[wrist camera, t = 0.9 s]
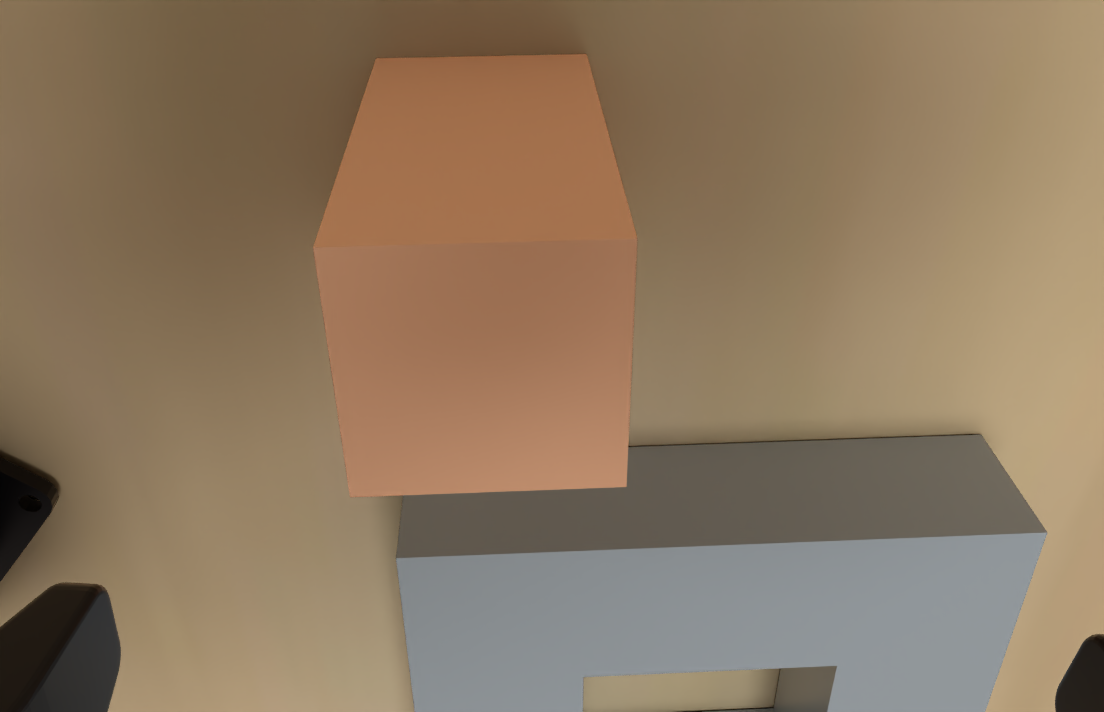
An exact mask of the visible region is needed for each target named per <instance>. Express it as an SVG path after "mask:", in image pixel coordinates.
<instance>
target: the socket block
mask: <svg viewBox="0 0 1104 712" xmlns="http://www.w3.org/2000/svg"><path fill="white" fill-rule="evenodd" d="M1046 535H1047V531H1046V530H1045V528H1044V527H1043V525H1042V524H1041V522H1040V521H1039V520H1038V518H1037V517H1036V515H1035V514H1034V512H1033V511H1032V509H1031V508H1030V506H1029V505H1028V503H1027V502H1026V500H1025V499H1024V497H1023V496H1022V494H1021V493H1020V491H1019V490H1018V488H1017V487H1016V485H1015V484H1014V482H1013V481H1012V479H1011V478H1010V476H1009V475H1008V474H1007V472H1006V471H1005V469H1004V468H1003V466H1002V465H1001V463H1000V462H999V460H998V459H997V457H996V456H995V454H994V453H993V451H992V450H991V448H990V447H989V445H988V444H987V442H986V441H985V439H984V438H983V436H982V435H955V436H927V437H898V438H870V439H842V440H814V441H786V442H758V443H730V444H701V445H673V446H645V447H628V464H627V487H614V488H587V489H560V490H533V491H506V492H480V493H453V494H426V495H403V501H402V510H401V519H400V528H399V536H398V545H397V554H396V562H397V570H398V579H399V587H400V595H401V603H402V611H403V620H404V628H405V636H406V644H407V652H408V661H409V669H410V677H411V685H412V693H413V702H414V710H415V712H583V677H595V676H618V675H641V674H663V673H686V672H708V671H731V670H753V669H776V668H781V669H780V674H779V680H778V686H777V692H776V698H775V703H774V708H769V709H747V710H726V711H704V712H985V711H986V708H987V705H988V702H989V699H990V696H991V693H992V690H993V687H994V685H995V682H996V679H997V676H998V673H999V670H1000V667H1001V664H1002V662H1003V659H1004V656H1005V653H1006V650H1007V647H1008V644H1009V641H1010V639H1011V636H1012V633H1013V630H1014V627H1015V624H1016V621H1017V618H1018V615H1019V613H1020V610H1021V607H1022V604H1023V601H1024V598H1025V595H1026V592H1027V590H1028V587H1029V584H1030V581H1031V578H1032V575H1033V572H1034V569H1035V566H1036V564H1037V561H1038V558H1039V555H1040V552H1041V549H1042V546H1043V543H1044V541H1045V538H1046Z"/></svg>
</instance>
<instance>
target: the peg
mask: <svg viewBox="0 0 1104 712" xmlns="http://www.w3.org/2000/svg"><path fill="white" fill-rule="evenodd" d="M313 251H314V258H315V264H316V271H317V278H318V285H319V291H320V298H321V305H322V312H323V318H324V325H325V332H326V339H327V345H328V352H329V359H330V365H331V372H332V379H333V386H334V392H335V399H336V406H337V413H338V419H339V426H340V433H341V439H342V446H343V453H344V460H345V466H346V473H347V480H348V487H349V493H350V497H372V496H399V495H426V494H453V493H480V492H506V491H533V490H560V489H587V488H614V487H627V464H628V442H629V419H630V396H631V374H632V351H633V328H634V306H635V283H636V260H637V235H636V232H635V228H634V224H633V221H632V217H631V213H630V210H629V206H628V202H627V199H626V195H625V192H624V188H623V184H622V181H621V177H620V173H619V170H618V166H617V163H616V159H615V155H614V152H613V148H612V144H611V141H610V137H609V133H608V130H607V126H606V123H605V119H604V115H603V112H602V108H601V104H600V101H599V97H598V94H597V90H596V86H595V83H594V79H593V75H592V72H591V68H590V65H589V61H588V57H587V54H561V55H512V56H463V57H414V58H376V60H375V63H374V66H373V69H372V72H371V75H370V78H369V81H368V84H367V87H366V90H365V93H364V96H363V99H362V102H361V105H360V108H359V111H358V114H357V117H356V120H355V123H354V126H353V129H352V132H351V135H350V138H349V141H348V144H347V147H346V150H345V153H344V156H343V159H342V162H341V165H340V168H339V171H338V174H337V177H336V180H335V183H334V186H333V189H332V192H331V195H330V198H329V201H328V204H327V207H326V210H325V213H324V216H323V219H322V222H321V225H320V228H319V231H318V234H317V237H316V240H315V243H314V246H313Z"/></svg>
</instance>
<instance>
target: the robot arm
mask: <svg viewBox="0 0 1104 712" xmlns="http://www.w3.org/2000/svg"><path fill="white" fill-rule="evenodd" d="M27 495H30V496H34V497H36V498H37V499H38V500H40V501H37V500H33V499H31V498H30V497H28V496H27ZM58 497H59V496H58V491H57V489H56V488H55V486H54V485H53V484H52V483H50V482H49V481H47V480H46V479H44V478H42V477H40V476H38V475H36V474H34V473H32V472H30V471H27V470H25V469H23V468H21V467H19V466H17V465H15V464H13V463H11V462H9V461H7V460H5V459H3V458H1V457H0V581H1V580H2V579H3V577H4V576H5V575H6V573H7V572H8V571H9V569H10V568H11V566H12V565H13V564H14V562H15V561H16V560H17V558H18V557H19V556H20V554H21V553H22V552H23V550H24V549H25V547H26V546H27V545H28V543H29V542H30V541H31V539H32V538H33V537H34V535H35V534H36V532H37V531H38V530H39V528H40V527H41V526H42V524H43V523H44V522H45V520H46V519H47V517H48V516H49V515H50V513H51V512H52V510H53V508H54V506H55V504H56V502H57V500H58ZM120 659H121V647H120V641H119V637H118V632H117V628H116V623H115V619H114V615H113V610H112V606H111V602H110V597H109V595H108V592H107V590H106V589H105V588H104V587H103V586H102V585H98V584H86V583H58V584H55V585H53V586H51V587H49V588H48V589H47V590H45V591H44V592H43V593H42V594H40V595H39V596H38V597H37V598H35V599H34V600H33V601H32V602H31V603H29V604H28V605H27V606H26V607H24V608H23V609H22V610H21V611H20V612H18V613H17V614H16V615H15V616H13V617H12V618H11V619H10V620H8V621H7V622H6V623H5V624H4V625H2V626H1V627H0V712H108V708H109V705H110V701H111V697H112V694H113V690H114V686H115V683H116V679H117V676H118V672H119V666H120ZM1055 708H1056V712H1104V634H1095V635H1092V636H1090V637H1088V638H1087V639H1086V640H1085V641H1084V642H1083V643H1082V645H1081V647H1080V649H1079V650H1078V652H1077V654H1076V656H1075V658H1074V659H1073V661H1072V663H1071V665H1070V666H1069V668H1068V670H1067V672H1066V674H1065V675H1064V677H1063V679H1062V681H1061V683H1060V684H1059V686H1058V689H1057V693H1056V698H1055Z"/></svg>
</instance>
